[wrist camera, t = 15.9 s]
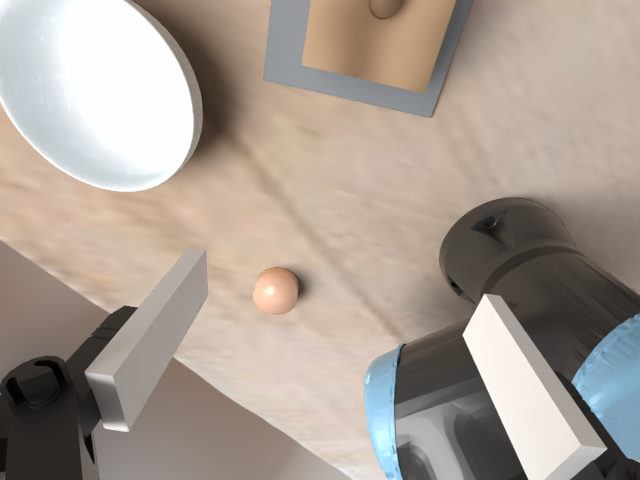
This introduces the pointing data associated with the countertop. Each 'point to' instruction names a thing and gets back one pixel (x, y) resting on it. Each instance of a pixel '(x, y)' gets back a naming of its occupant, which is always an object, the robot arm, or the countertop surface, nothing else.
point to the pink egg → (276, 291)
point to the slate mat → (286, 69)
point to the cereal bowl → (99, 90)
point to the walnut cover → (377, 39)
